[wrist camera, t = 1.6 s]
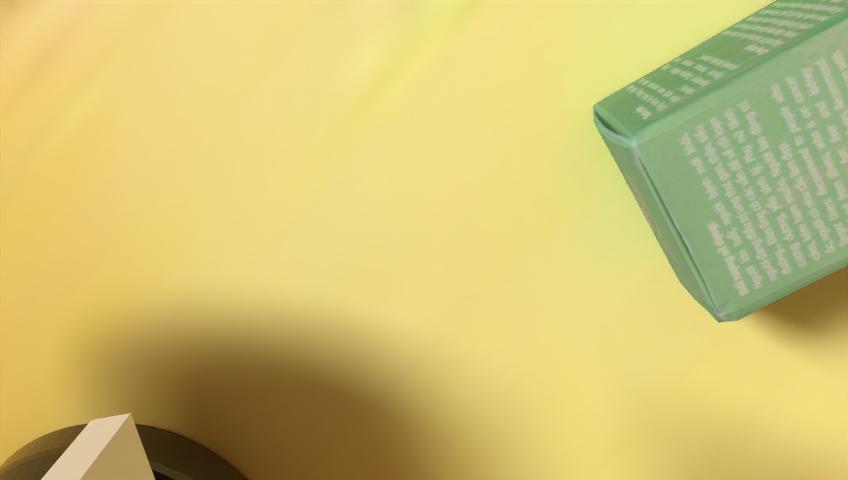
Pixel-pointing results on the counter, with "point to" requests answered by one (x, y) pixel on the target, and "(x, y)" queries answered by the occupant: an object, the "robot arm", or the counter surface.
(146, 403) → the counter surface
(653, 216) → the box
